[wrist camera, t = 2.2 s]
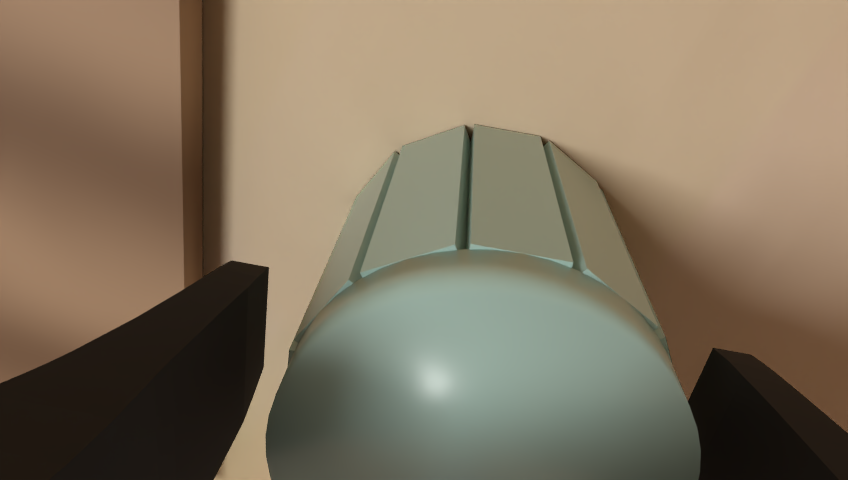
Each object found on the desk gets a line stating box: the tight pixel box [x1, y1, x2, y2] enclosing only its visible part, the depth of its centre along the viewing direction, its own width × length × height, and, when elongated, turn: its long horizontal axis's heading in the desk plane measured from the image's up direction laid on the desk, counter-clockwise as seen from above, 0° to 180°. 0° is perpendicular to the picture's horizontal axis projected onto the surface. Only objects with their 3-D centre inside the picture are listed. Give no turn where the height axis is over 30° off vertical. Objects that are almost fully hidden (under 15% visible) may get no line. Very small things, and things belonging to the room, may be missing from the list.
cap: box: [266, 124, 701, 480], centre depth 11 cm, size 6×6×6 cm
